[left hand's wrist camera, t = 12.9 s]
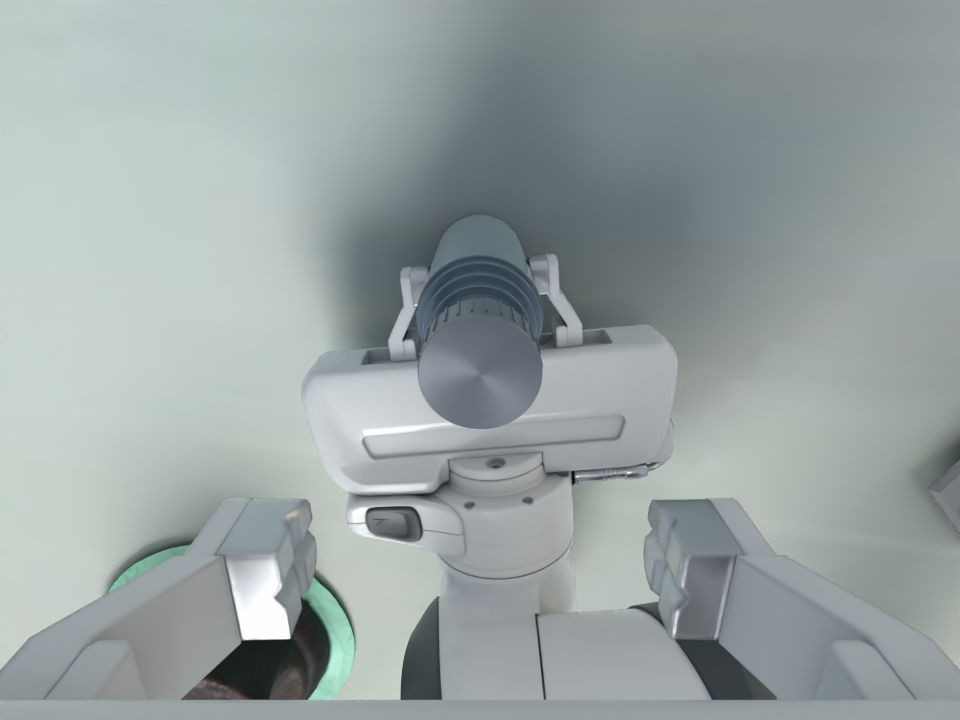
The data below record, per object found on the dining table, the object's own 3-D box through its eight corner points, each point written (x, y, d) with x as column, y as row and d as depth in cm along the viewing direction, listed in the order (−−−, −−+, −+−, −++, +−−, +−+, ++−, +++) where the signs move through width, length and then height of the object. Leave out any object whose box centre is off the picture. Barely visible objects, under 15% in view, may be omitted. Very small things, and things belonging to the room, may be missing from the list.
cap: (402, 320, 19) (395, 339, 17) (516, 279, 18) (519, 294, 17) (447, 420, 20) (444, 447, 19) (553, 384, 20) (560, 408, 18)
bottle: (424, 232, 34) (371, 324, 17) (505, 201, 33) (531, 266, 17) (455, 310, 36) (435, 461, 19) (533, 282, 35) (582, 413, 19)
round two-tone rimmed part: (312, 766, 50) (85, 703, 48) (386, 559, 53) (174, 491, 51) (279, 909, 35) (-51, 828, 33) (383, 612, 38) (85, 520, 36)
